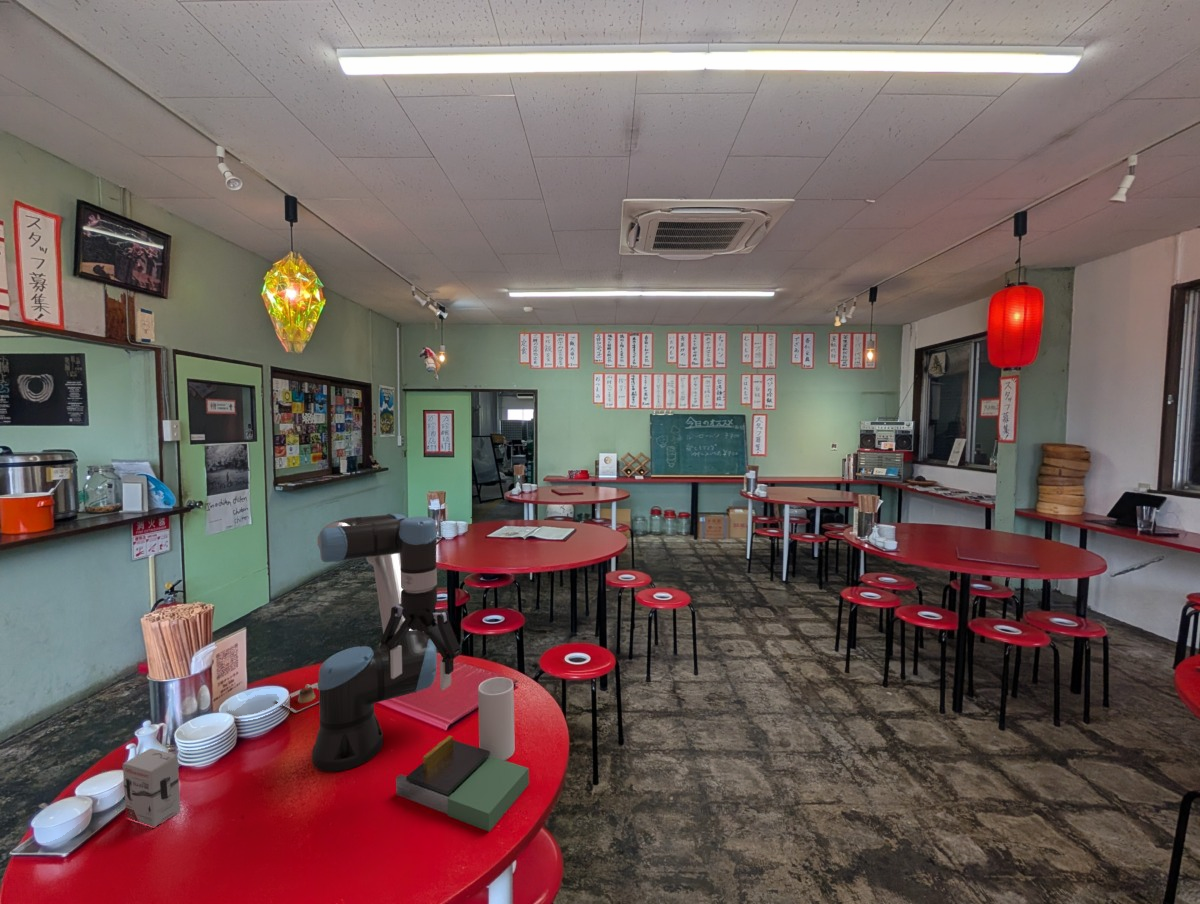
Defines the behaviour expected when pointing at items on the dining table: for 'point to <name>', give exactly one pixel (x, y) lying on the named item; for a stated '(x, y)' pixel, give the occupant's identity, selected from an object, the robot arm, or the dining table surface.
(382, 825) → the dining table surface
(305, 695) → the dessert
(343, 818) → the dining table surface
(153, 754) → the ink box
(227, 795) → the dining table surface
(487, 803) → the green rectangular box
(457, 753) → the cover
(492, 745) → the cup
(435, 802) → the bracket
